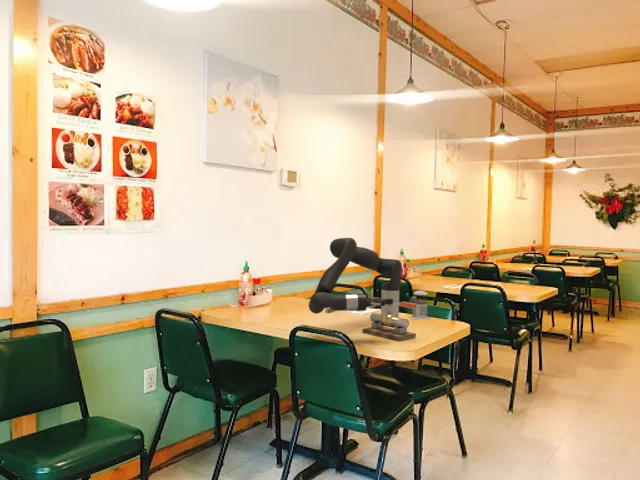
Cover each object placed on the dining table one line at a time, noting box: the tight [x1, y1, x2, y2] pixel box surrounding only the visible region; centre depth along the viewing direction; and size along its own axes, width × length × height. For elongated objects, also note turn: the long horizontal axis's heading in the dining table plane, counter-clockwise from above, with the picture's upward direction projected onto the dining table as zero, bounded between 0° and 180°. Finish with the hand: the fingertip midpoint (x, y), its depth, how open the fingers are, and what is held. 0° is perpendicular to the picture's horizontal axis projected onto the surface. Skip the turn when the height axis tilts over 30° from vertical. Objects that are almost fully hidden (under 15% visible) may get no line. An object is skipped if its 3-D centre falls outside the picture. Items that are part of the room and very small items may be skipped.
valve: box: [324, 307, 334, 313], centre depth 307 cm, size 6×26×15 cm
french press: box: [409, 272, 429, 321], centre depth 284 cm, size 10×12×25 cm
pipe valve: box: [369, 305, 410, 335], centre depth 239 cm, size 20×6×12 cm, turn 42°
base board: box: [361, 326, 417, 342], centre depth 239 cm, size 22×12×2 cm, turn 42°
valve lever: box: [387, 301, 416, 310], centre depth 234 cm, size 3×16×2 cm, turn 43°
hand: (392, 301), depth 227 cm, fingers closed
